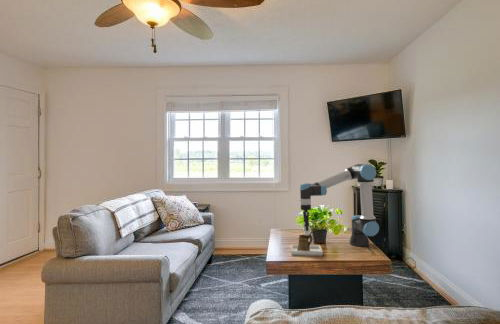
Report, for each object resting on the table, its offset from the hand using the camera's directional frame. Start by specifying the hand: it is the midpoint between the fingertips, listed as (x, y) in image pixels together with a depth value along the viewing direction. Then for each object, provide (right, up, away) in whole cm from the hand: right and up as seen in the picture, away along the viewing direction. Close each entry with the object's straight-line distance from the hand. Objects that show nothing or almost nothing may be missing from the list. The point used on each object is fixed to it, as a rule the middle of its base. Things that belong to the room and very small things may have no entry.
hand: (306, 232), depth 230 cm
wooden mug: (0, -14, 0) cm, 14 cm away
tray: (0, -14, 0) cm, 14 cm away
